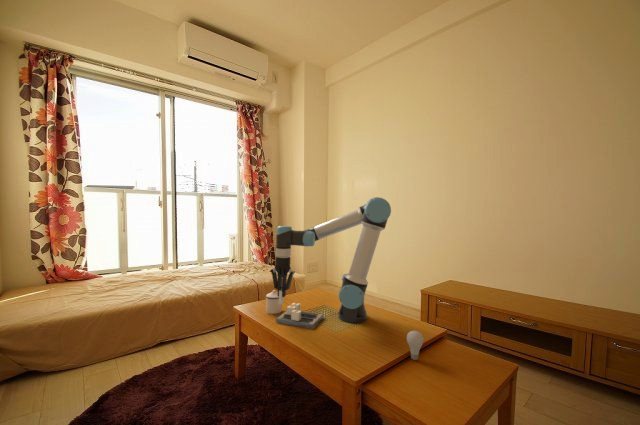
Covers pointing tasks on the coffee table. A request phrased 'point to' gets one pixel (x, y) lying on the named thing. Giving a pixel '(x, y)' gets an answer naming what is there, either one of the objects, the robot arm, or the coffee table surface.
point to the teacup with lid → (273, 303)
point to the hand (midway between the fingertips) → (281, 303)
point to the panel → (306, 319)
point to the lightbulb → (414, 343)
